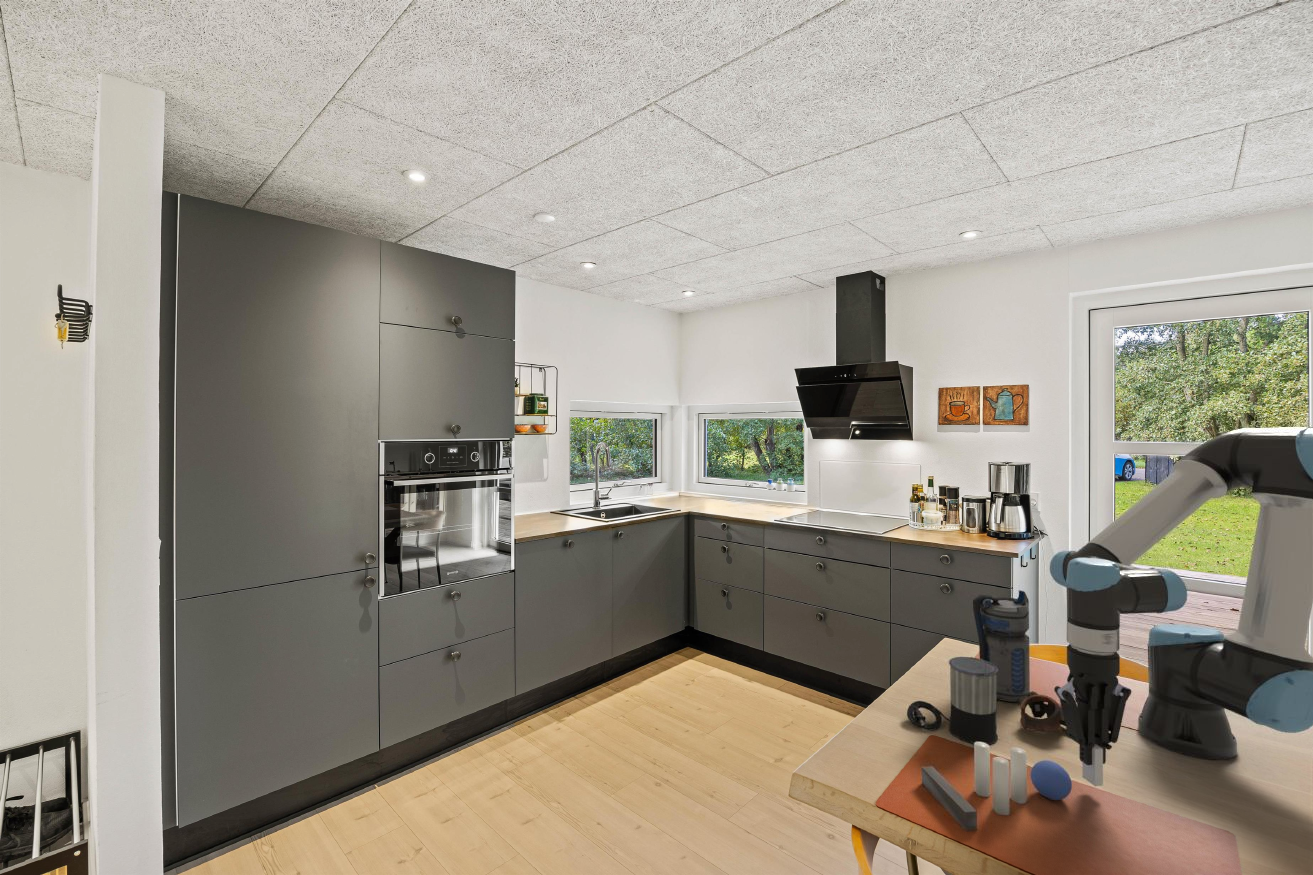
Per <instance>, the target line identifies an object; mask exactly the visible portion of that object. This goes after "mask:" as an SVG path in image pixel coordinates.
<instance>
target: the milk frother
mask: <svg viewBox="0 0 1313 875" xmlns="http://www.w3.org/2000/svg"><path fill="white" fill-rule="evenodd" d="M948 665H949V667H950V668H949V671H950V672H949V674H950V678H949V679H950V683H949V684H950V687H949V688H950V713H949V714H950V718H948V717H947V716H945V715H944V713H942V712H941V711H940V710H939V709H938V708H937V707H935V706H934V705H933V704H931V703H930V702H928V701H927V702H926V701H924V700H917V701H914V702H912V703H911V704H910V705H909V706H908V708H907V709H906V717H907V718H908V720H909V722H910V723H911V724H912V725H913V726H915V727H917V728H919V729H921V730H927V731H933V730H937V729H939V728H940V727H941V726H942V722H943V719H945V720H946V721H947V722H949V725H948V730H949V732H950V733H951V734H952V736H954V737H956V738H957V739H959V740H961V741H964V742H967V743H971V744H974V743H975V742H984V743H986V744H988V745H991V744H995V743H997V741H998V740H999V735H998V734H997V699H996V673H997V671H998V669H997V667H996V666H995V665H993V664H992V663H990V662H987V661H984V660H982V659H980V658H977V657H973V656H956V657H952V658H950V659H949V660H948ZM920 709H925V710H926V711H927V710H928V711H930V712H931V713H932V714H933V715H934V717H935V721H934V722H931V723H925V722H926V716H924V715H923V713H922V712H921V710H920Z"/></svg>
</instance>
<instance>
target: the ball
mask: <svg viewBox="0 0 1313 875" xmlns="http://www.w3.org/2000/svg"><path fill="white" fill-rule="evenodd" d="M1030 780H1031V783H1032V785H1033V787H1034V788H1035V789H1036V791H1037V792H1038V793H1039V794H1041V795H1042V796H1044V797H1045V798H1047V799H1049V800H1054V801H1060V800H1063V799H1064V800H1065V799H1066V798H1067V797H1068V796H1069V795H1070V793H1071V791H1072V788H1073V785H1072V784H1073V783H1072V780H1071V776H1070V775H1069V773H1068V771H1067V770H1066V769H1065V768H1064V767H1063V766H1061V765H1060V764H1059V763H1057V762H1054V761H1052V760H1048V759H1047V760H1040V761H1038V762H1035V764H1033V766H1032V768H1031V770H1030Z"/></svg>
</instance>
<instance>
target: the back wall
mask: <svg viewBox="0 0 1313 875" xmlns="http://www.w3.org/2000/svg"><path fill="white" fill-rule="evenodd" d="M921 783H922V785H923V786H924V787H925V788H926V789H927V790H928V791H929V793H930V794H931V795H932V796H933V797H934V798H935V799H936V800H937V801H938V802H939V804H940V803H941V804H942V805H943V806H944V807H945V808H946V809H947V810H948V811H947V810H946V809H945V808H944V807H943V806H942V805H941V804H940V805H941V806H942V807H943V808H944V809H945V810H946V811H947V812H948V813H949V814H950V816H951V815H952V816H953V817H952V816H951V817H952V818H953V819H954V820H955V821H956V822H957V823H958V824H959V825H960V826H961V828H963V830H964V831H965V832H966V831H967V832H968V831H977V830H978V810H977V809H975V807H973V806H972V804H970V803H969V801H967V799H965V797H963V795H962V794H960V793H959V791H957V789H955V787H953V785H952V784H950V783H949V781H948V780H946V778H945V777H944V776H942V774H941V773H940V772H939V771H937V769H936V768H935V767H933V765H929V766H928V765H927V766H921Z"/></svg>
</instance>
